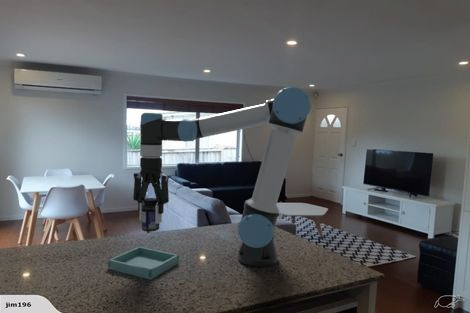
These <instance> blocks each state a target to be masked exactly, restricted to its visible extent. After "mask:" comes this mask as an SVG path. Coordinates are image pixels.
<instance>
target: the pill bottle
mask: <svg viewBox="0 0 470 313" xmlns="http://www.w3.org/2000/svg"><path fill="white" fill-rule="evenodd" d="M143 202H144V204H145V205H144V206H143V207H142V221H141V230H142V231H143V232H157V231H158V230H160V223H158V224H155V213H156V204H158V203H157V199H156V197H147V198H146V197H145V199H144V201H143Z"/></svg>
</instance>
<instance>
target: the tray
mask: <svg viewBox="0 0 470 313" xmlns="http://www.w3.org/2000/svg"><path fill="white" fill-rule="evenodd" d="M179 257H180V256H179V254H176V253H171V252H166V251H163V250H158V249H157V250H156V249H152V248H147V247H143V246H138V247H135V248H133V249H131V250H128V251H126V252H123V253H121V254H119V255H117V256H115V257H112V258H109V259H108V265H107V266H108V267H107V268H108V270H112V271H115V272H119V273H123V274H128V275H132V276H135V277H139V278H142V279H147V280H150V281H151V280H153V279H154V278H156V277H158V276H160V275H161V274H163V273H165V272H166V271H168V270H170V269H172V268H173V267H175V266H176V265H179V261H180V260H179Z"/></svg>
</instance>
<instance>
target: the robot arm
mask: <svg viewBox="0 0 470 313" xmlns="http://www.w3.org/2000/svg"><path fill="white" fill-rule="evenodd" d="M311 108H312V103H311V99H310V97H309V95H308V93H307V92H306V91H305V90H304V89H302V88H300V87H297V86H287V87H285V88H282V89H280V90H279V91H278V92H277V94H275V97H274V98H271V99H267V100H266V101H265V102H264V103H263V104H258V105H253V106H247V107H244V108H240V109H235V110H231V111H226V112H221V113H218V114H212V115H208V116H204V117H198V118H194V119H189V118H184V119H181V118H179V119H178V118H177V119H176V118H174V119H172V118H171V119H170V118H169V119H167V118H163V114H162V113H159V112H143V113H142V114H141V116H140V124H139V127H140V132H139V133H140V138H139V139H140V144H139V145H140V146H139V147H140V148H139V156H140V158H139V159H140V160H139V168H140V171H139V172H134V173H133V175H132V176H133V178H134V179H133V180H134V184H133V197H132V199H133V201H136V202H137V208H138V209H137V210H138V212H139V222H142V207H143V206H144V205H145V204H144V199H146V196H147V192H148V190H149V185H150V184H151V186H152V187H153V190H154V194H155V198H156V199H157V204H156V213H155V224H158V223H159V224H161V223H162V219H163V218H162V217H163V214H164V210H165V209H164V206H165V204H168V203H169V201H170V199H169V179H170V176H169V174H164V173H163V172H162V171H163V170H162V167H163V157H162V156H163V141H171V142H172V141H173V142H194V141H195V140H197V139H203V138H207V137H211V136H215V135H217V136H218V135H221V134H226V133H230V132H236V131H240V130H244V129H245V130H246V129H249V128H255V127H259V126H265V125H268V126H269V128H270V132H269V137H268V139H267V143H266V147H265V150H264V154H263V158H262V160H261V164H260V167H259V171H258V174H257V179H256V182H255V184H254V190H253V192H252V197H250V198H249V199H247V200H245V201H244V205H243V212H242V216H241V218H240V219H241V220H239V222H238V225H237V231H238V236H239V238H240V240H241V244H240V245H239V246H240V247H239V248H238V249H239V250H238V253H237V260H238V261H239V263H242V264H244V265H245V266H250V267H259V268H263V267H270V266H273V265H276V264H277V262H278V252H277V248H276V244H275V240H274V239H275V238H274V237H275V236H274V235H275V227H276V223H277V220H278V217H279V213H280V209H279V208H278V206H277V204H278V201H279V197H280V195H281V194H280V193H281V191H282V187H283V183H284V181H285V177H286V173H287V169H288V166H289V163H290V159H291V156H292V152H293V150H294V145H295V143H296V140H297V137H298V136H300V135H301V134H303V131H304V129H305V128H304V127H305V124H306V122H307V118H308V115H309V114H310V112H311V110H312V109H311Z"/></svg>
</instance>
